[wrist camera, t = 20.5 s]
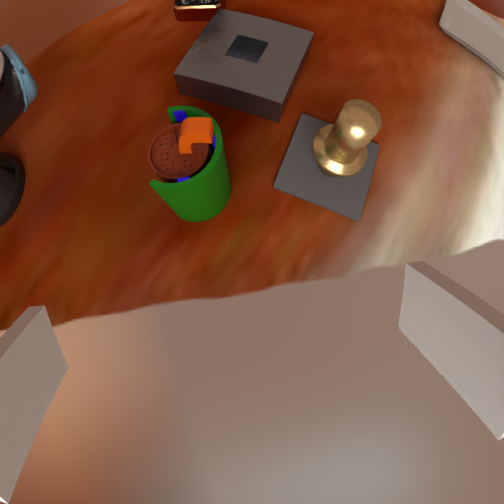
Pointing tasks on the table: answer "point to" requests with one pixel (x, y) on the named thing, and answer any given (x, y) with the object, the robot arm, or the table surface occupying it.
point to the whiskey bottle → (197, 9)
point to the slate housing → (245, 63)
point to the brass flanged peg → (346, 139)
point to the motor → (190, 164)
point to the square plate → (475, 31)
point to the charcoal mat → (315, 182)
